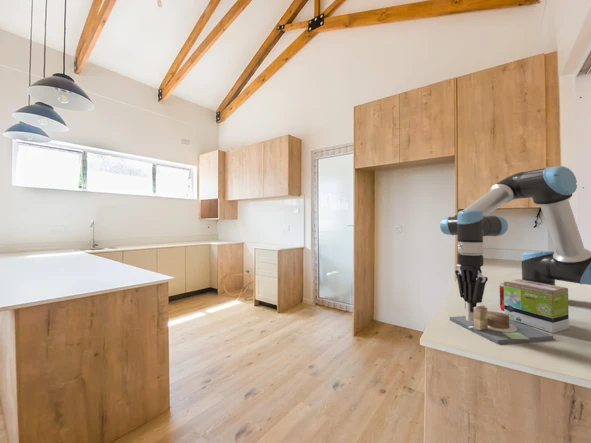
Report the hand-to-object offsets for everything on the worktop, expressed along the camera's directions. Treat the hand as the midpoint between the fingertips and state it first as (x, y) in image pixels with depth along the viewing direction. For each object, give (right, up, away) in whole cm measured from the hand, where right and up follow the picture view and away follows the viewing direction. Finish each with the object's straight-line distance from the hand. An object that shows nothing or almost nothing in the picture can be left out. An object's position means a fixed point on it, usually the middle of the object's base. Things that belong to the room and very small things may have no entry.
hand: (470, 320), depth 90 cm
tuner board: (+9, -3, -1) cm, 9 cm away
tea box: (+26, -3, +4) cm, 27 cm away
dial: (+5, -1, -2) cm, 6 cm away
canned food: (+30, -3, +17) cm, 34 cm away
